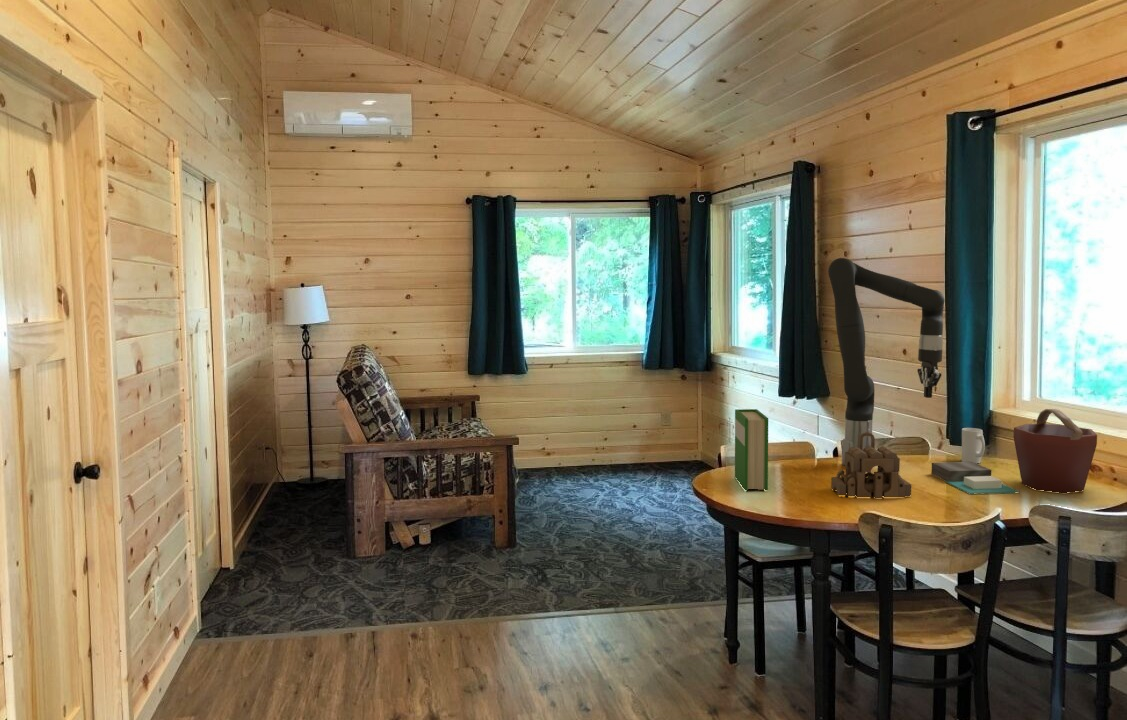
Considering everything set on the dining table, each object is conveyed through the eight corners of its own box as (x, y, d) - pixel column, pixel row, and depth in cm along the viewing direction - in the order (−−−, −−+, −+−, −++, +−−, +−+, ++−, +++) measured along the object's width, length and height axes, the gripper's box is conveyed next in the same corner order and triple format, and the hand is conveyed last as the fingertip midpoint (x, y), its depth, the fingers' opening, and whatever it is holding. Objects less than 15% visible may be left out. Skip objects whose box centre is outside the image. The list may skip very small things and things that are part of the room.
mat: (969, 494, 250) (969, 492, 250) (945, 482, 265) (945, 480, 265) (1019, 493, 251) (1019, 491, 251) (992, 480, 266) (992, 479, 266)
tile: (963, 476, 260) (963, 484, 261) (974, 481, 254) (974, 489, 255) (990, 475, 261) (990, 483, 261) (1001, 480, 255) (1001, 488, 255)
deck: (949, 483, 264) (949, 471, 264) (931, 474, 276) (931, 462, 276) (991, 481, 265) (991, 469, 264) (971, 472, 277) (971, 461, 276)
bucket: (1098, 500, 242) (1102, 418, 239) (1015, 493, 251) (1018, 414, 249) (1084, 480, 264) (1088, 406, 261) (1008, 475, 273) (1011, 402, 271)
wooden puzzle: (841, 499, 248) (842, 440, 246) (828, 487, 262) (829, 431, 260) (914, 499, 246) (915, 440, 244) (897, 487, 261) (898, 431, 259)
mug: (956, 460, 296) (957, 428, 294) (973, 459, 297) (974, 427, 295) (974, 466, 286) (976, 433, 284) (991, 465, 287) (993, 432, 285)
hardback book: (767, 491, 258) (768, 418, 255) (744, 492, 258) (745, 418, 256) (756, 478, 275) (756, 409, 273) (734, 478, 276) (735, 409, 273)
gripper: (910, 346, 283) (908, 394, 285) (929, 349, 269) (926, 400, 271) (931, 346, 283) (929, 394, 285) (951, 349, 270) (948, 400, 272)
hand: (927, 397), depth 278 cm, fingers closed
